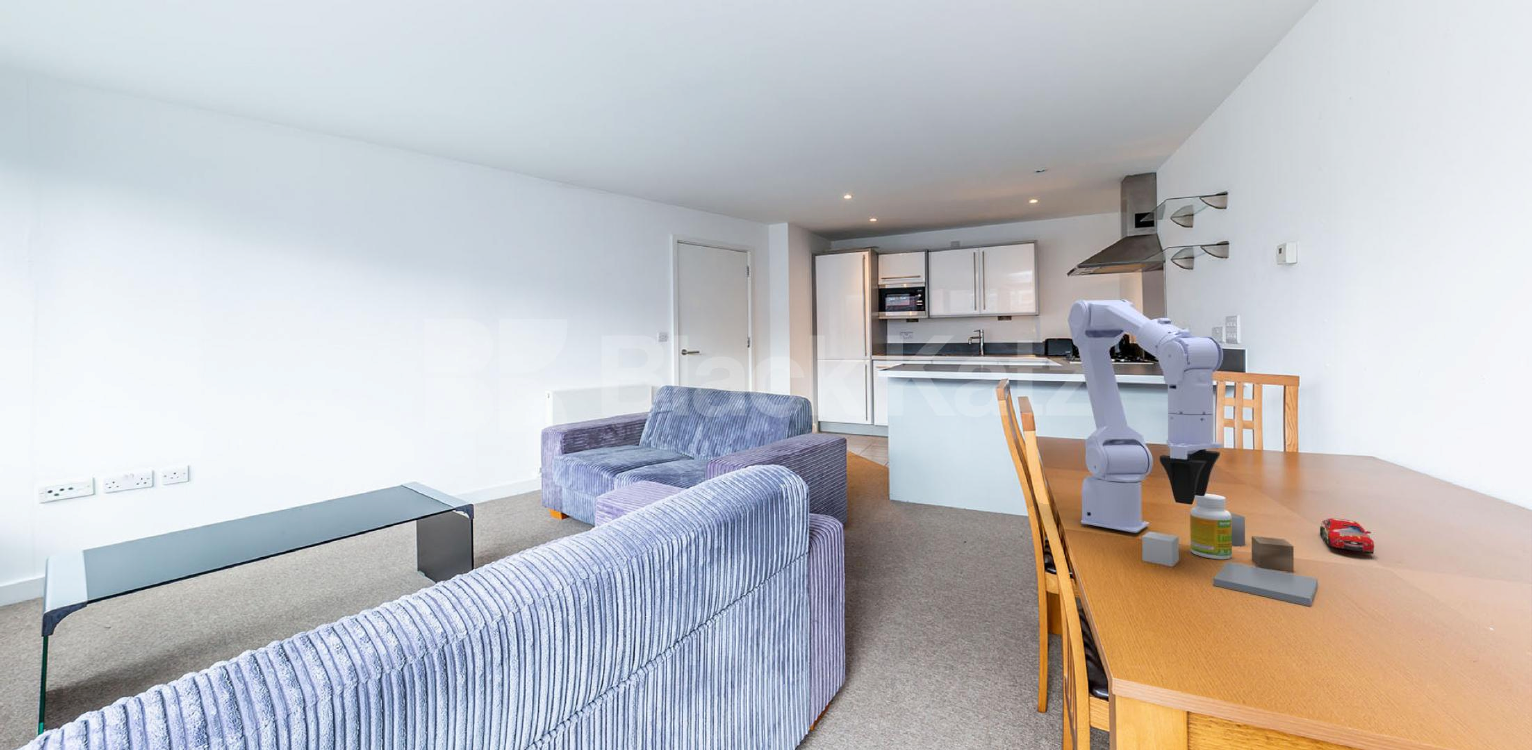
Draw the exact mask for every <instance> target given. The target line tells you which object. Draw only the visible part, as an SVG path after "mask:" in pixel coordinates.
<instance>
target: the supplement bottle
mask: <svg viewBox="0 0 1532 750" xmlns="http://www.w3.org/2000/svg"><path fill="white" fill-rule="evenodd" d="M1194 503H1195V504H1196V506H1194V507H1192V508H1190V511H1189V512H1190V513H1189V522H1190V524H1189V525H1190V526H1189V528H1190V532H1189V533H1190V534H1189V536H1190V541H1189V542H1190V545H1189V546H1190V552H1192V554H1194V555H1196V556H1199V557H1202V558H1207V559H1212V560H1229V559H1231V558H1232V557H1233V554H1232V553H1233V552H1232V551H1233V549H1232V548H1233V546H1232V519H1231V514H1232V513H1230V511H1228V510H1227V509H1225V507H1227V506H1226V505H1227V500H1226V497H1225V496H1223V495H1219V494H1218V495H1217V494H1214V493H1213V494H1210V493H1205V496H1196V495H1195V498H1194Z"/></svg>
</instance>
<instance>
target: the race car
mask: <svg viewBox="0 0 1532 750" xmlns="http://www.w3.org/2000/svg"><path fill="white" fill-rule="evenodd" d="M1371 533H1372V532H1371V531H1370V530H1369V531H1368V530H1367V531H1366V530H1365V529H1364V527H1362V525H1361V524H1360V523H1359V522H1357V521H1354V520H1350V519H1345V518H1344V519H1343V518H1327V519H1325V520H1322V522H1321V523H1320V527H1319V534H1320V538H1321V539H1323V540H1324V542H1325V543H1327V544H1328V548H1329V549H1334V550H1336V549H1337V548H1339V549H1344V550H1351V551H1360V552H1365V554H1370V555H1372V554H1374V552H1375V541H1374V540H1373V539H1372V538H1371V537H1370V535H1368V534H1371Z"/></svg>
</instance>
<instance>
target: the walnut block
mask: <svg viewBox="0 0 1532 750" xmlns="http://www.w3.org/2000/svg"><path fill="white" fill-rule="evenodd" d="M1294 551H1295V549H1294V546H1293V545H1292V544H1291V543H1290V542H1289V541H1287V540H1286V539H1285V538H1276V537H1275V538H1274V537H1265V536H1255V535H1252V536H1251V561H1252V563H1254V564H1255V566H1257V567H1258V568H1263V569H1269V570H1274V571H1279V572H1285V573H1294V572H1295V568H1294V566H1295V562H1294V555H1295V554H1294V553H1295V552H1294Z"/></svg>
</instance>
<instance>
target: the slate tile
mask: <svg viewBox="0 0 1532 750" xmlns="http://www.w3.org/2000/svg"><path fill="white" fill-rule="evenodd" d="M1318 581H1319V580H1318V578H1316V577H1310V576H1304V575H1300V574H1299V575H1298V574H1295V573H1291V572H1285V571H1278V570H1269V569H1263V568H1259V567H1258V566H1257V567H1256V566H1253V565H1247V564H1242V563H1237V562H1231V561H1227V562H1226V563H1225V564H1224V565H1223V566H1222V568H1221V569H1220V570H1219V571H1218V572H1217V573H1216V575H1215V576H1213V581H1212V582H1213V583H1212V584H1213V586H1215V587H1218V588H1222V589H1223V588H1224V589H1229V590H1234V591H1238V592H1243V593H1246V594H1251V595H1256V596H1260V597H1266V598H1271V599H1274V600H1279V601H1284V602H1289V603H1292V604H1293V603H1294V604H1297V605H1303V606H1306V607H1311V605H1312V603H1313V600H1314V597H1315V594H1316V592H1317V589H1318V585H1319V584H1318Z"/></svg>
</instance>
